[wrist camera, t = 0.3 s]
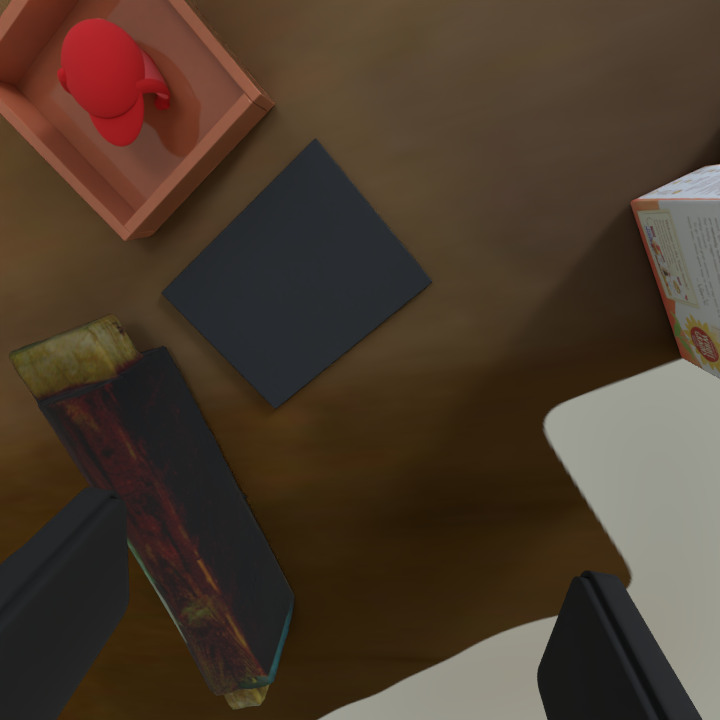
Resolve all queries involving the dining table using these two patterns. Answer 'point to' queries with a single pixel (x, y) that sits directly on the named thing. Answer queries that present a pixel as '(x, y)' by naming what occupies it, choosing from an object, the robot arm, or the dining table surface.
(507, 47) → the dining table surface
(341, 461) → the dining table surface
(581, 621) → the robot arm
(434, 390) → the dining table surface
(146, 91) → the cap
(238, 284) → the mat
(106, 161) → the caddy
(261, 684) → the packaged item
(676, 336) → the cracker box
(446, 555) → the dining table surface
